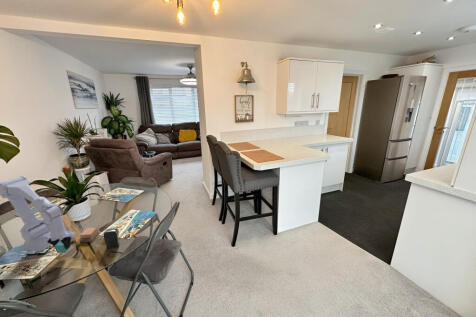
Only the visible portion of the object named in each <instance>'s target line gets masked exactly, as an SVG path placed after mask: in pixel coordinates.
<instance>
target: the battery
mask: <svg viewBox="0 0 476 317" xmlns="http://www.w3.org/2000/svg"><path fill="white" fill-rule="evenodd" d="M119 233H120V232H119V229H118V228H107V229H106V230H105V231H104V232H103V234H102V235H103V240H104V243H105V247H106V248H107V249H109V248H110V249H113V248H119V247H120V244H121V243H120V239H119V238H120V237H119V235H120V234H119Z"/></svg>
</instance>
